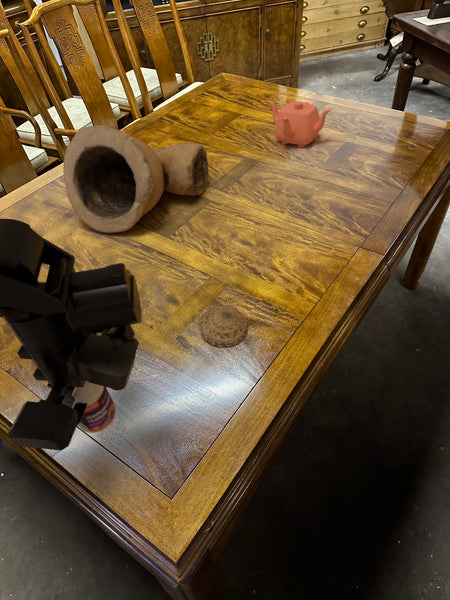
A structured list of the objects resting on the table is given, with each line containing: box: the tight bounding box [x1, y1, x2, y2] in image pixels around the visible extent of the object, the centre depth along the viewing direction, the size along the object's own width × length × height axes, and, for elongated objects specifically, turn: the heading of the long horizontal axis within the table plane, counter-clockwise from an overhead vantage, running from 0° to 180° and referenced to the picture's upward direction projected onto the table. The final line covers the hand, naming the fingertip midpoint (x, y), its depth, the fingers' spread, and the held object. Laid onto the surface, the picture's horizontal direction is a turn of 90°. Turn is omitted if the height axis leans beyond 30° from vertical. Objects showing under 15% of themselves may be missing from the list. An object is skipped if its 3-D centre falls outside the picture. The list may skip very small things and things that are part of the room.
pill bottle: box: [73, 380, 117, 434], centre depth 54 cm, size 5×5×10 cm
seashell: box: [199, 304, 248, 348], centre depth 74 cm, size 8×6×8 cm
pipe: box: [62, 124, 209, 234], centre depth 103 cm, size 23×29×30 cm
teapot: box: [267, 100, 333, 148], centre depth 121 cm, size 14×14×11 cm
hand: (92, 406), depth 56 cm, fingers closed on pill bottle, 5 cm apart
